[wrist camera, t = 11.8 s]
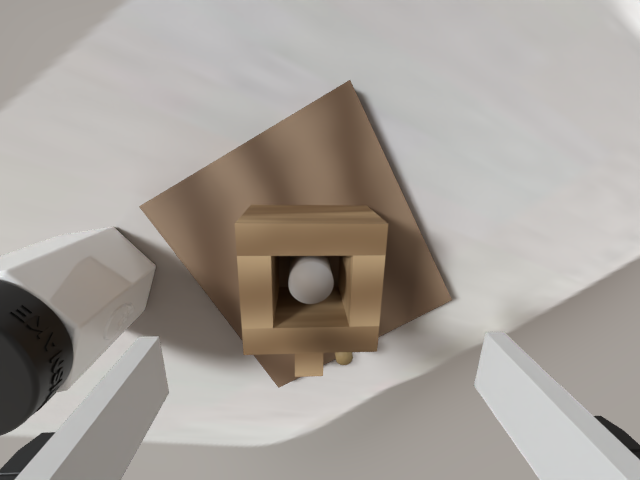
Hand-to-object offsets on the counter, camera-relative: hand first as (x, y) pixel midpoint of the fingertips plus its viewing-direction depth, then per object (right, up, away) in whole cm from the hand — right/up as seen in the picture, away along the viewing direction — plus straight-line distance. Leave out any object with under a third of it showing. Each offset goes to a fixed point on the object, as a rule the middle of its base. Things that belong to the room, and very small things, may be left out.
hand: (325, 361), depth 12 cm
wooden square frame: (-1, +1, +13) cm, 13 cm away
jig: (-1, +4, +14) cm, 14 cm away
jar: (-19, +2, +13) cm, 23 cm away
